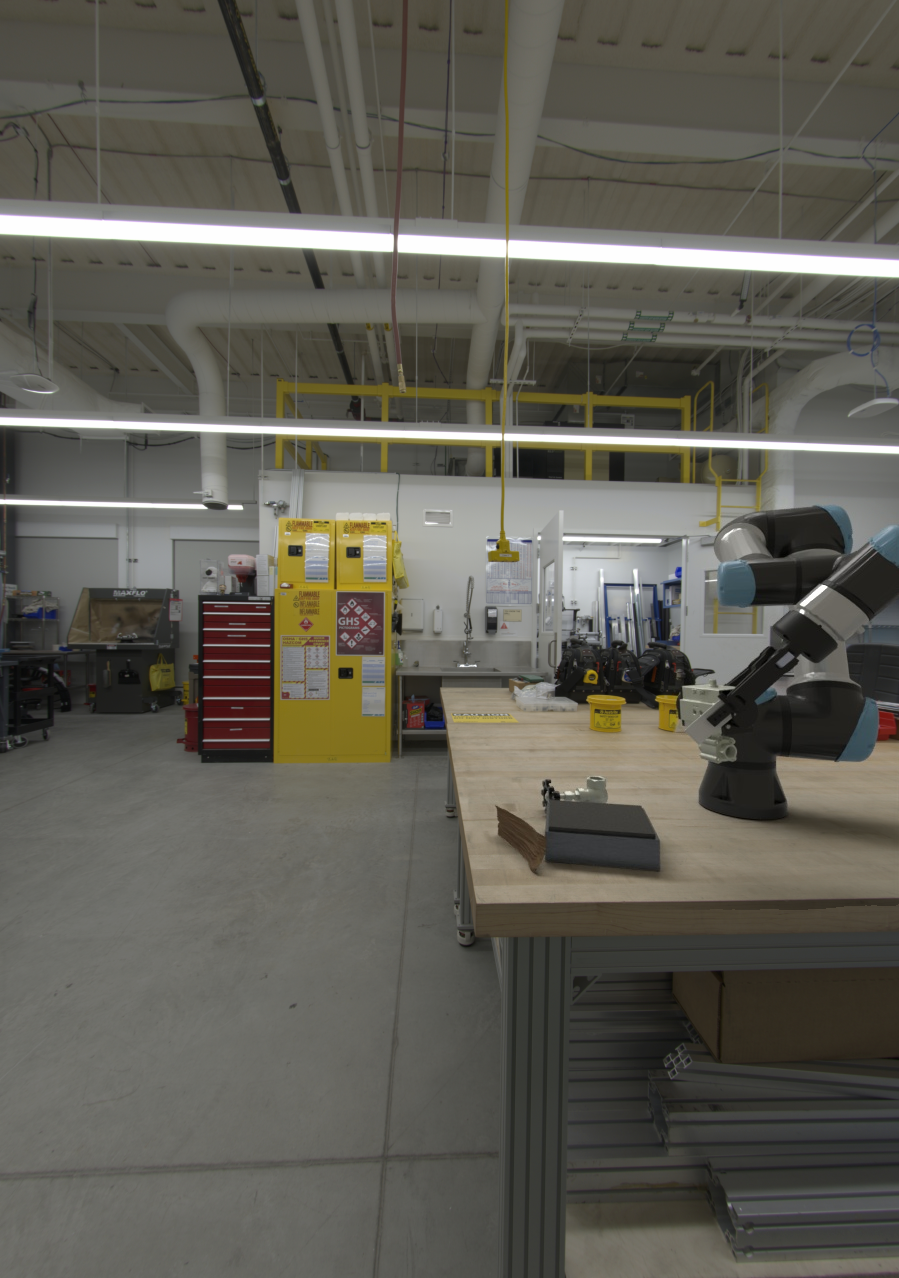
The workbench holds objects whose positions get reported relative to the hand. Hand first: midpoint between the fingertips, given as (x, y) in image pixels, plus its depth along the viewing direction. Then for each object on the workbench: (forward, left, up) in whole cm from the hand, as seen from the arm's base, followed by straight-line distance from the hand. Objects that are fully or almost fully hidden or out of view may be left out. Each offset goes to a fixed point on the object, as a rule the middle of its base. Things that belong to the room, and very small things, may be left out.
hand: (692, 731), depth 77 cm
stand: (+14, -1, -19) cm, 23 cm away
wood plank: (+26, +4, -19) cm, 33 cm away
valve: (+17, -17, -19) cm, 30 cm away
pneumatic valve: (-3, +1, -4) cm, 5 cm away
